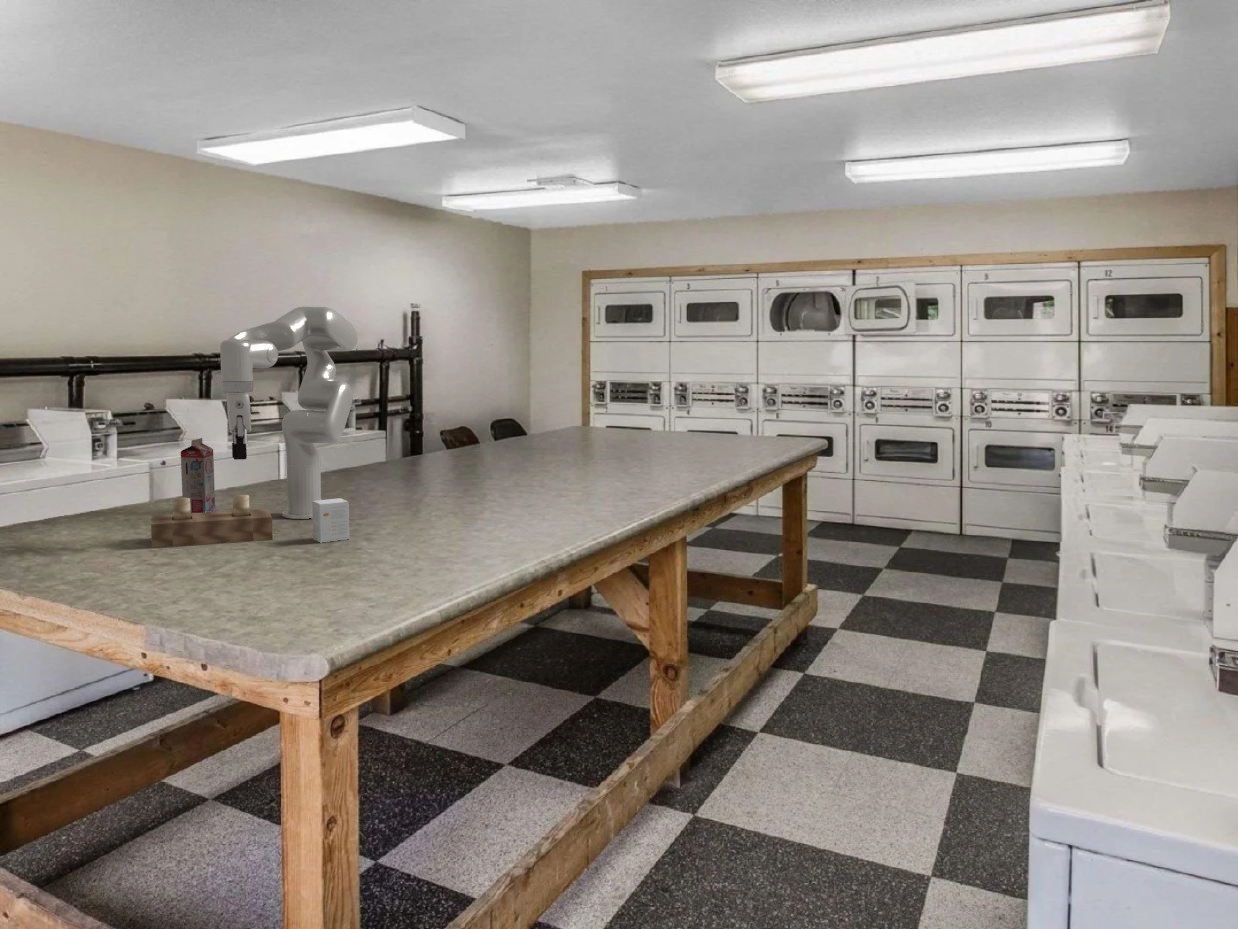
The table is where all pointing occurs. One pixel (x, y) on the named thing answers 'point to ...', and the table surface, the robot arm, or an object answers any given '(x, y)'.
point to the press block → (210, 528)
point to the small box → (330, 520)
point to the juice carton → (198, 476)
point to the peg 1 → (181, 509)
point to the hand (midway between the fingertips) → (239, 457)
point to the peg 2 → (240, 505)
